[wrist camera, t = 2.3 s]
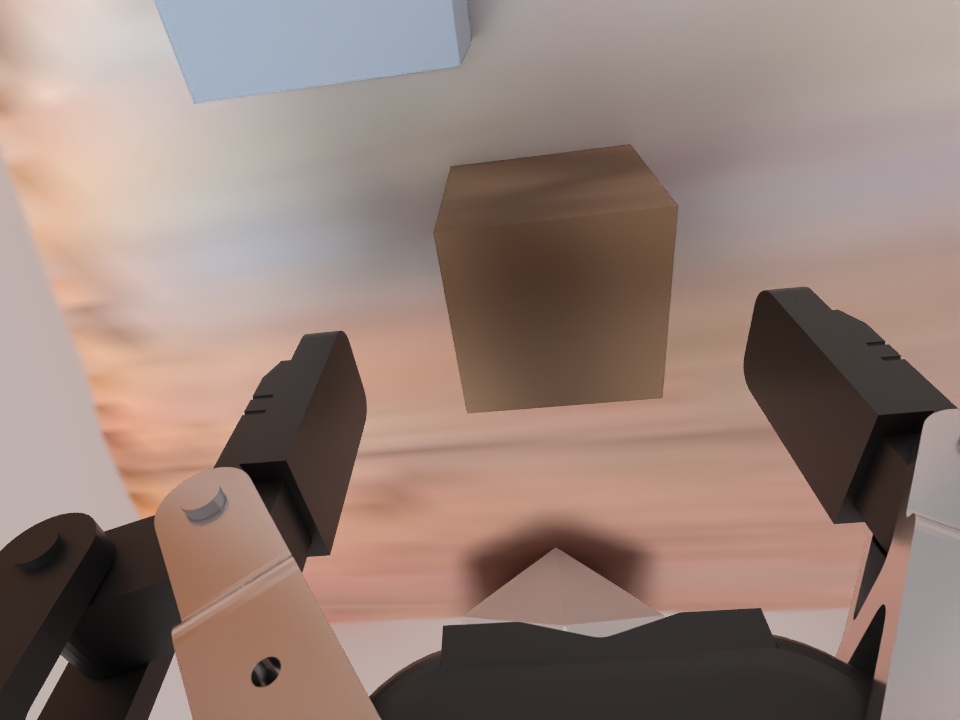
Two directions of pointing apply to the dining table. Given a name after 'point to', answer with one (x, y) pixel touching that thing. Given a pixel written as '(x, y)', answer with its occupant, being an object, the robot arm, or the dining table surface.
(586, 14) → the dining table surface
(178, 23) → the blue cube
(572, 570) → the die
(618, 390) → the walnut cube
